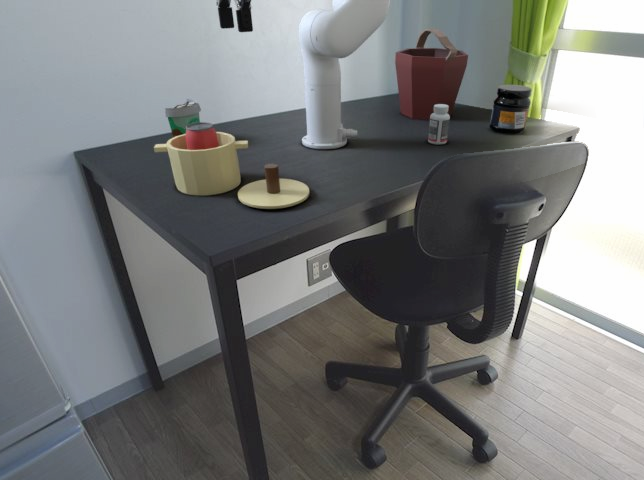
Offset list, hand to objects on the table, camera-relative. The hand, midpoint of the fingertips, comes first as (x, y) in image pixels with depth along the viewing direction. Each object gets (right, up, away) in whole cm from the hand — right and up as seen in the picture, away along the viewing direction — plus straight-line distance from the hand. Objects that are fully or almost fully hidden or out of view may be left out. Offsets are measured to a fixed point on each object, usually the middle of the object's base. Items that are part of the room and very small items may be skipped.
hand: (236, 29), depth 100 cm
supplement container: (+73, -8, +38) cm, 83 cm away
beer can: (-6, -34, +1) cm, 34 cm away
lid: (+9, -38, -5) cm, 39 cm away
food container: (-19, -16, +27) cm, 36 cm away
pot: (-6, -34, +1) cm, 35 cm away
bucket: (+51, +3, +53) cm, 74 cm away
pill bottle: (+50, -16, +27) cm, 59 cm away
